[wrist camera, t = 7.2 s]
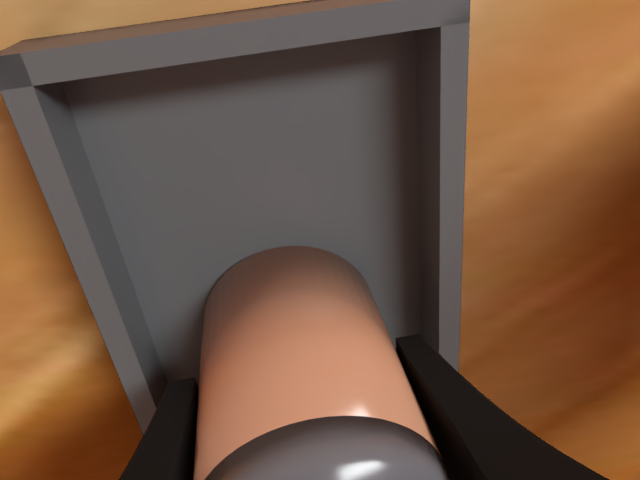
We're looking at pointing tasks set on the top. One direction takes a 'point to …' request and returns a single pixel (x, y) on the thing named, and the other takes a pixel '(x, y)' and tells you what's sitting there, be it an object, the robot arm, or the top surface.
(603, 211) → the top surface
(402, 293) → the tray
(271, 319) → the jar
